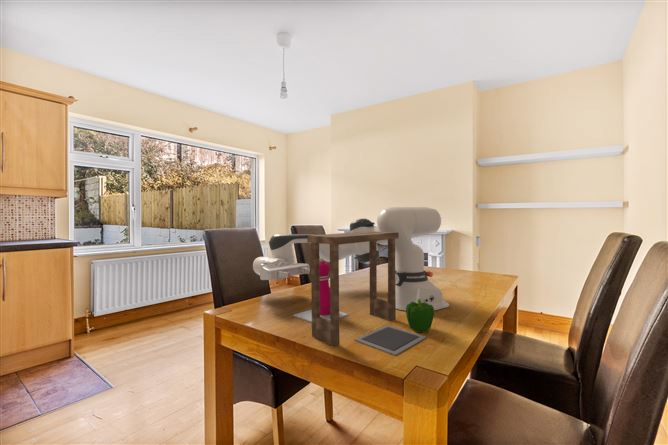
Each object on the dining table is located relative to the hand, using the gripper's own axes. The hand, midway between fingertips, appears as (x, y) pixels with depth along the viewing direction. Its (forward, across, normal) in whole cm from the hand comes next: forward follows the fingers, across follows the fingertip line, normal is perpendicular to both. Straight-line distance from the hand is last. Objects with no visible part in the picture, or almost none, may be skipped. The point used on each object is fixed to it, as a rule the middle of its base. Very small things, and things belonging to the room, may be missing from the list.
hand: (298, 273), depth 118 cm
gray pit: (+42, 0, -14) cm, 44 cm away
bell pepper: (+44, -13, -14) cm, 48 cm away
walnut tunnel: (+29, 0, -14) cm, 32 cm away
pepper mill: (+12, -3, -13) cm, 18 cm away
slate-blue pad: (+12, 0, -14) cm, 18 cm away
